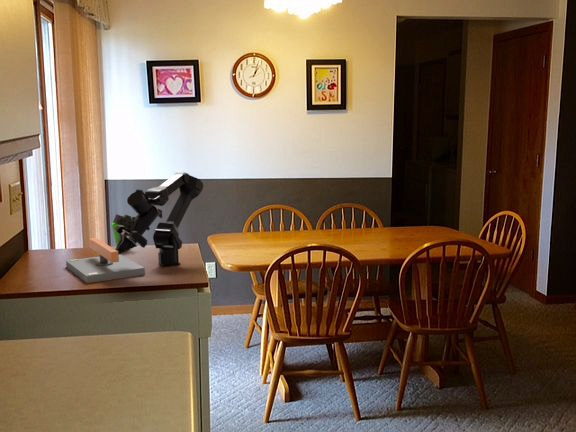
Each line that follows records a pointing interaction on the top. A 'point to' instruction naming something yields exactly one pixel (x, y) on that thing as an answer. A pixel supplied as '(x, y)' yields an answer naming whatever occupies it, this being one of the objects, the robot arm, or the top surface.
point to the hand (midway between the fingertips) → (114, 255)
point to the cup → (115, 232)
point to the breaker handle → (104, 251)
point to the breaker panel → (104, 269)
